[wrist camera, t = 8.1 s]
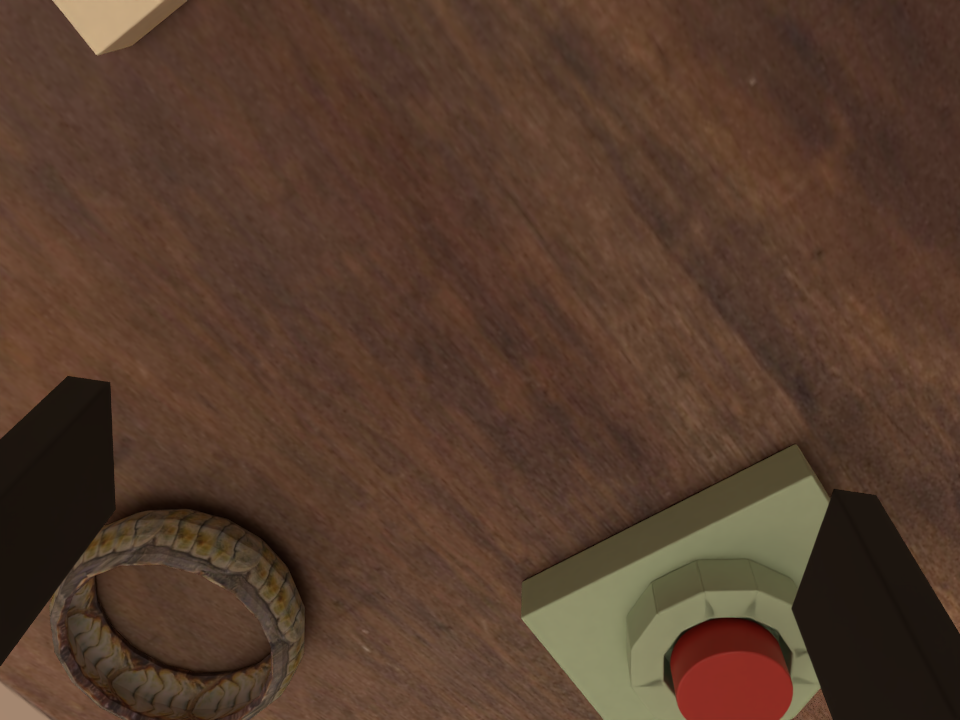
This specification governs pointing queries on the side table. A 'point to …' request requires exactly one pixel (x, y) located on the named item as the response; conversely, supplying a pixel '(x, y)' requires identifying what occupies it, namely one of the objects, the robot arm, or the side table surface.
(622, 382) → the side table surface
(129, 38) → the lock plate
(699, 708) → the button
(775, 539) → the box
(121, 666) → the decorative ring
